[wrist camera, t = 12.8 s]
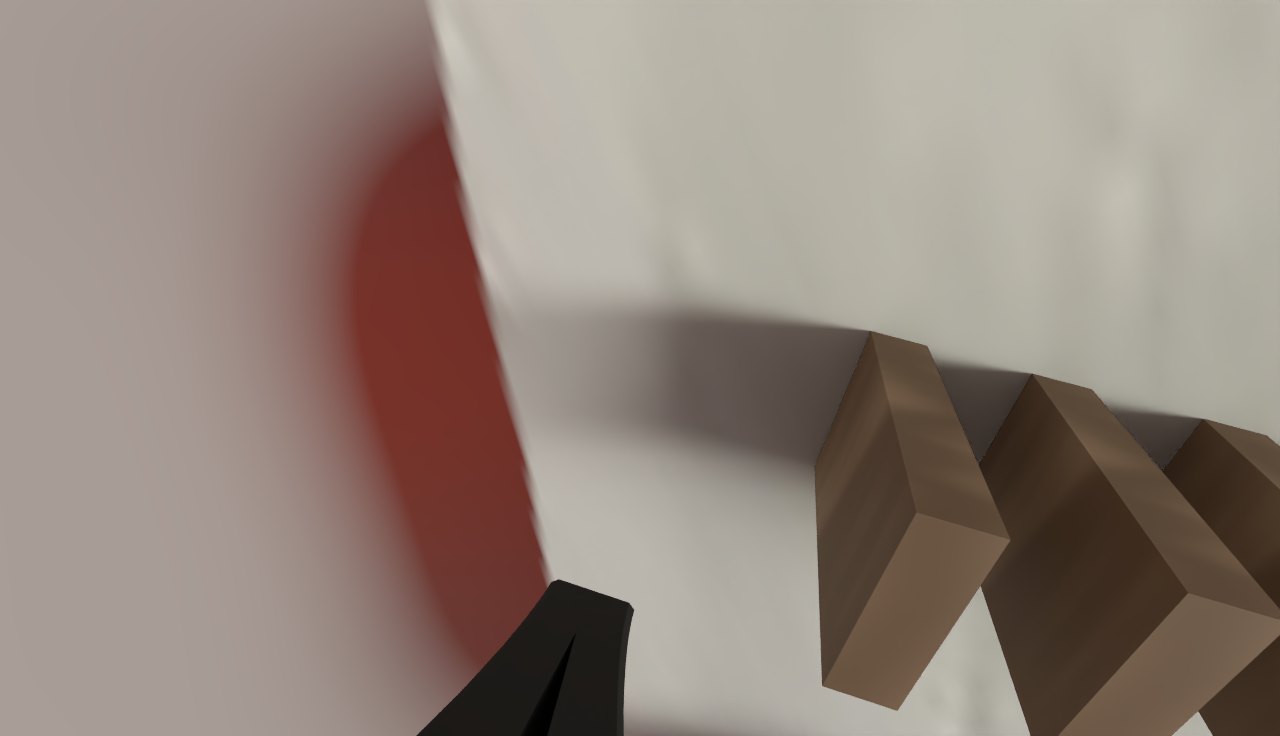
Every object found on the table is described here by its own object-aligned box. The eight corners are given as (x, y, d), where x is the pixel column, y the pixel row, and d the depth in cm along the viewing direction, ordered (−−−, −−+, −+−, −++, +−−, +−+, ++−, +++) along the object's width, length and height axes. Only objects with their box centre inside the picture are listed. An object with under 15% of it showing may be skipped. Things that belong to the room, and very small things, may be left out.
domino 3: (1266, 435, 16) (1603, 714, 10) (1156, 566, 19) (1361, 864, 12) (1203, 419, 17) (1488, 680, 10) (1101, 550, 19) (1272, 835, 12)
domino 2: (1092, 389, 17) (1292, 623, 10) (1006, 522, 19) (1119, 784, 13) (1032, 373, 17) (1187, 592, 10) (954, 507, 20) (1038, 757, 13)
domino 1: (927, 346, 17) (1010, 539, 11) (863, 481, 20) (897, 710, 13) (871, 330, 18) (916, 512, 11) (814, 466, 20) (822, 685, 13)
